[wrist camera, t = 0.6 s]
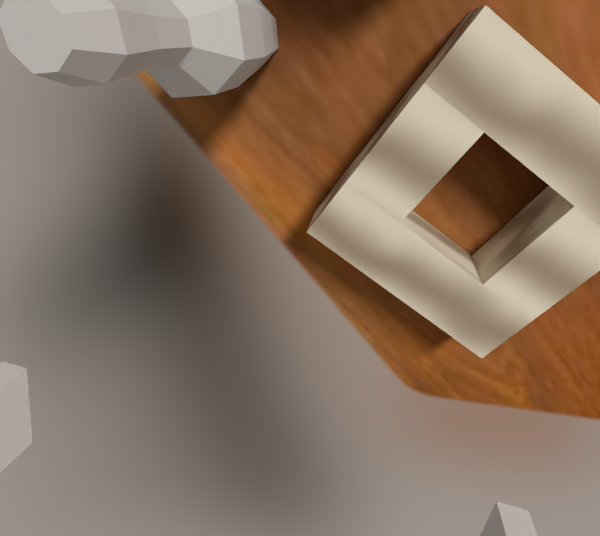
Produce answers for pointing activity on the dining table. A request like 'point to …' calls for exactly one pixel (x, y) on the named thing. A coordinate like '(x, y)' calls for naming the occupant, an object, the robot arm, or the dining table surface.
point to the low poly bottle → (142, 41)
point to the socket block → (442, 157)
